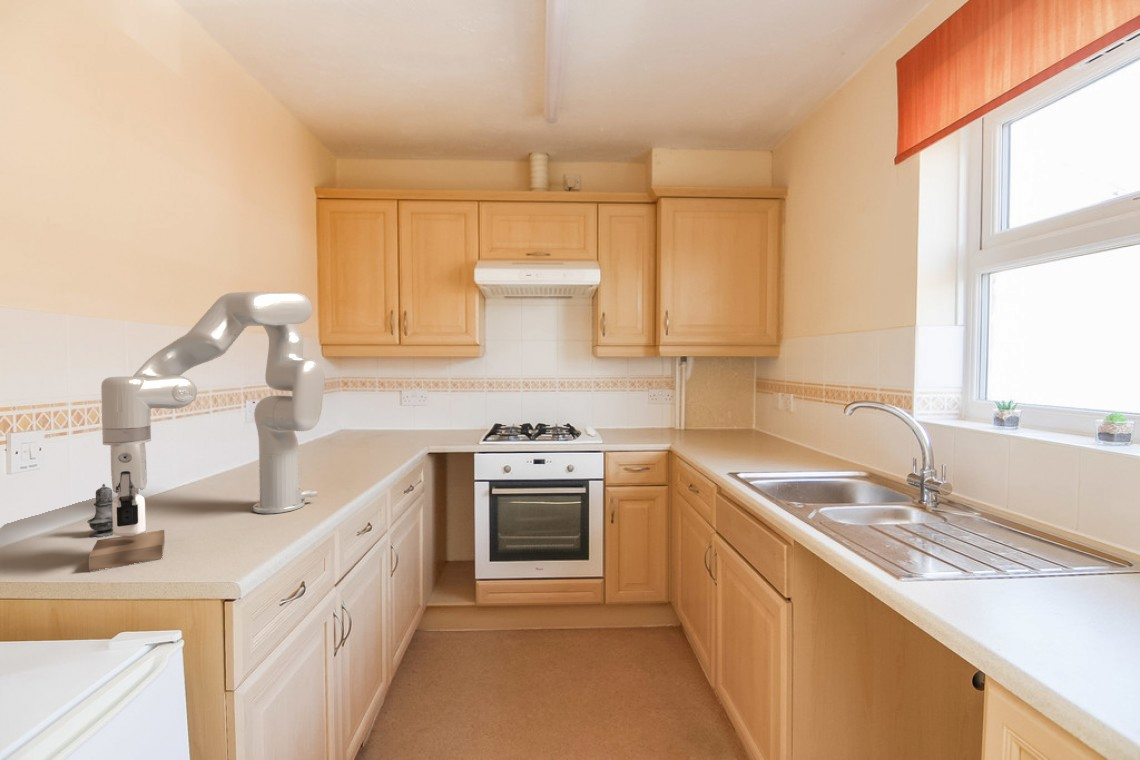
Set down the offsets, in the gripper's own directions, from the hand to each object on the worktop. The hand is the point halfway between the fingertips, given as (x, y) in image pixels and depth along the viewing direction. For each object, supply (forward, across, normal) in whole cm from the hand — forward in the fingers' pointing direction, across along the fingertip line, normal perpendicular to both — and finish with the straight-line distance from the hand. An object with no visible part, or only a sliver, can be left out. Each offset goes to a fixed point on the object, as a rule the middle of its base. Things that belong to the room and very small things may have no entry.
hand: (129, 520), depth 103 cm
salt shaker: (+8, +21, +6) cm, 23 cm away
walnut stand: (+8, 0, 0) cm, 8 cm away
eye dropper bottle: (+3, 0, 0) cm, 3 cm away
